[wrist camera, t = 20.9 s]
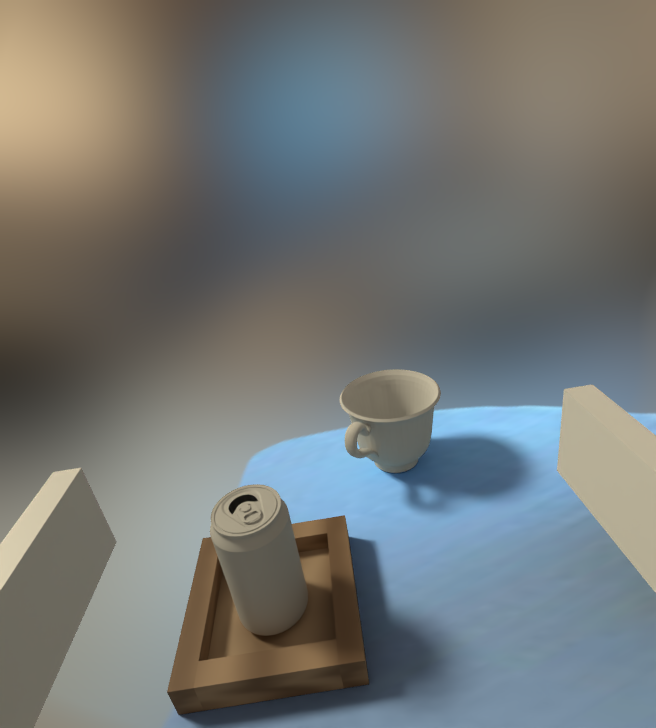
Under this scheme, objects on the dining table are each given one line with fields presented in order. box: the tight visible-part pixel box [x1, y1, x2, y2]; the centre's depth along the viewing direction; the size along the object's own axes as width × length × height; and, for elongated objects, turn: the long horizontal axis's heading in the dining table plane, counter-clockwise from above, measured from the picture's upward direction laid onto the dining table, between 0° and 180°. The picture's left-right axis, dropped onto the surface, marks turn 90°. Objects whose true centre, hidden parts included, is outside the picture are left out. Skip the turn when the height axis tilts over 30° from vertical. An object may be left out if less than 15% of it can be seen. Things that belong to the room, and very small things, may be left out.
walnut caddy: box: [167, 516, 369, 715], centre depth 42 cm, size 15×15×3 cm
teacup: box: [340, 370, 441, 473], centre depth 57 cm, size 12×15×10 cm
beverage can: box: [210, 485, 308, 636], centre depth 39 cm, size 6×6×12 cm
